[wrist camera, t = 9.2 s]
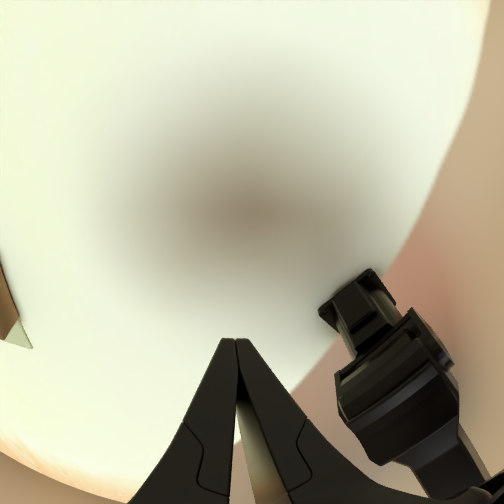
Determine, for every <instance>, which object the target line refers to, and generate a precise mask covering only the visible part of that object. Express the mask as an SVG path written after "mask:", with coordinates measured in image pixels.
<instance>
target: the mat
mask: <svg viewBox="0 0 504 504" xmlns="http://www.w3.org/2000/svg"><path fill="white" fill-rule="evenodd" d="M0 340H1V339H0ZM3 341H6V342H9V343H12V344H15V345H18V346H21V347H25V348H28V349H33V347H32V345H31V343H30V341H29V339H28V337H27V335H26V333H25V331H24V329H23V327H22V325H21V322H20V320H19V319H18V320H17V321H16V323H15V324H14V326H13V328H12V329H11V331H10V332H9V334H8V335H7V337H6V339H5V340H3Z"/></svg>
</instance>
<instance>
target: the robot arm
mask: <svg viewBox="0 0 504 504" xmlns="http://www.w3.org/2000/svg"><path fill="white" fill-rule="evenodd" d="M369 274H371V275H369ZM395 306H396V302H395V300H394V299H393V297H392V296H391V294H390V293H389V292H388V290H387V289H386V287H385V286H384V284H383V283H382V282H381V280H380V279H379V277H378V276H377V275H376V273H375V272H374V271H373V270H372V269H368V270H366V271H365V272H364V273H363V274H362V275H360V276H359V277H358V278H357V279H356V280H355V281H353V282H352V283H351V284H350V285H348V286H347V287H346V288H345V289H344V290H342V291H341V292H340V293H339V294H337V295H336V296H335V297H334V298H332V299H331V300H330V301H329V302H327V303H326V304H325V305H323V306H322V307H321V308H320V309H319V310H318V314H319V316H320V317H321V318H322V319H323V320H325V321H326V322H327V323H328V324H329V325H330V326H331V327H333V328H334V329H335V330H336V331H337V332H338V333H339V334H341V336H342V338H343V341H344V343H345V345H346V346H347V349H348V351H349V353H350V355H351V358H352V360H353V361H352V362H351V363H349V364H348V365H347V366H346V367H344V368H343V369H342V370H339V371H337V372H336V373H335V374H334V376H335V386H336V396H337V406H338V413H339V416H340V417H341V418H342V420H343V422H344V423H345V424H346V426H347V427H348V428H349V429H350V430H351V431H352V432H353V433H354V434H355V435H356V437H357V438H358V440H359V441H360V443H361V444H362V446H363V448H364V450H365V452H366V453H367V456H368V458H369V459H370V460H371V461H372V462H374V463H375V464H377V465H379V466H383V465H385V464H387V463H389V462H391V461H393V462H396V463H399V464H401V465H404V466H407V467H409V468H410V469H411V470H412V472H413V473H414V475H415V477H416V478H417V480H418V481H419V483H420V484H421V486H422V488H423V489H424V491H425V493H426V494H427V495H428V497H429V498H426V497H421V496H417V495H413V494H409V493H406V492H402V491H398V490H395V489H391V488H388V487H385V486H383V485H380V484H378V483H376V482H375V481H373V480H371V479H370V478H369V477H367V476H366V475H365V474H363V473H362V472H361V471H360V470H359V469H358V468H357V467H355V466H354V465H353V464H352V463H351V462H350V461H349V460H348V459H346V458H345V457H344V456H343V455H342V454H341V453H340V452H339V451H338V450H337V449H335V448H334V447H333V446H332V445H331V444H330V443H329V442H328V441H327V440H326V439H325V437H324V436H323V435H322V434H321V433H320V432H319V431H318V429H317V428H316V427H315V426H314V425H313V423H312V422H311V421H310V420H309V419H307V416H306V415H305V413H304V412H303V411H302V410H301V408H300V407H299V406H298V405H297V403H296V402H295V401H294V399H293V398H292V397H291V395H290V394H289V393H288V392H287V390H286V389H285V388H284V386H283V385H282V384H281V382H280V381H279V380H278V378H277V377H276V376H275V374H274V373H273V372H272V370H271V369H270V368H269V366H268V365H267V364H266V362H265V361H264V359H263V358H262V357H261V355H260V354H259V353H258V351H257V350H256V348H255V347H254V346H253V344H252V343H251V341H250V340H249V339H247V338H237V339H233V338H222V339H221V340H220V342H219V344H218V347H217V349H216V351H215V353H214V355H213V357H212V359H211V361H210V364H209V366H208V368H207V370H206V372H205V374H204V376H203V378H202V380H201V383H200V385H199V387H198V389H197V391H196V393H195V395H194V397H193V399H192V401H191V404H190V406H189V408H188V410H187V412H186V414H185V416H184V418H183V420H182V421H183V422H182V423H181V424H180V426H179V428H178V430H177V432H176V434H175V436H174V438H173V440H172V442H171V444H170V445H169V447H168V449H167V450H166V452H165V453H164V455H163V457H162V458H161V460H160V461H159V463H158V464H157V465H156V467H155V468H154V470H153V471H152V472H151V474H150V475H149V477H148V478H147V479H146V481H145V482H144V483H143V485H142V486H141V487H140V489H139V490H138V491H137V493H136V494H135V495H134V496H133V497H132V499H131V500H130V501H129V502H128V503H127V504H229V500H230V499H229V497H230V486H231V485H230V484H231V471H232V456H233V444H234V430H235V416H236V413H237V418H238V424H239V429H240V434H241V439H242V444H243V448H244V453H245V458H246V463H247V467H248V472H249V476H250V481H251V485H252V490H253V494H254V498H255V502H256V504H504V469H503V470H502V471H500V472H499V473H497V474H496V475H494V476H493V477H491V476H490V474H489V473H488V471H487V469H486V467H485V465H484V463H483V462H482V460H481V458H480V456H479V455H478V453H477V451H476V449H475V448H474V446H473V444H472V443H471V441H470V439H469V438H468V436H467V434H466V433H465V431H464V430H463V428H462V426H461V425H460V423H459V388H458V382H457V380H456V379H455V377H454V376H453V374H452V373H451V372H450V370H449V369H450V368H451V367H453V366H454V365H455V363H454V361H453V359H452V358H451V356H450V354H449V353H448V351H447V349H446V348H445V346H444V344H443V343H442V341H441V340H440V339H439V337H438V336H437V335H436V334H435V332H434V331H433V330H432V329H431V327H430V326H429V325H428V324H427V323H426V322H425V320H423V318H422V317H421V316H420V315H419V314H418V313H417V312H416V311H415V310H414V309H413V308H412V307H411V308H410V309H409V310H408V311H407V312H408V313H407V314H406V315H405V316H404V317H402V315H401V314H400V313H399V311H398V310H397V309H396V307H395ZM324 311H325V312H324ZM322 312H323V313H322Z"/></svg>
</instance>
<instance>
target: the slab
mask: <svg viewBox="0 0 504 504" xmlns="http://www.w3.org/2000/svg"><path fill="white" fill-rule="evenodd" d="M18 319H19V316H18V313H17V311H16V309H15V306H14V304H13V301H12V299H11V296H10V293H9V291H8V288H7V285H6V282H5V279H4V276H3V273H2V270H1V267H0V339H1V340H5V339H6V337H7V335H8V334H9V332H10V331H11V329H12V328H13V326H14V324H15V323H16V321H17V320H18Z"/></svg>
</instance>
